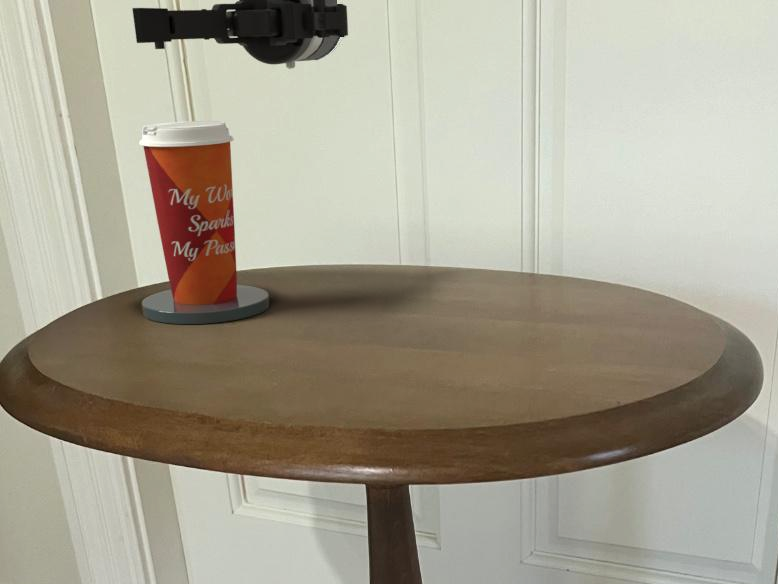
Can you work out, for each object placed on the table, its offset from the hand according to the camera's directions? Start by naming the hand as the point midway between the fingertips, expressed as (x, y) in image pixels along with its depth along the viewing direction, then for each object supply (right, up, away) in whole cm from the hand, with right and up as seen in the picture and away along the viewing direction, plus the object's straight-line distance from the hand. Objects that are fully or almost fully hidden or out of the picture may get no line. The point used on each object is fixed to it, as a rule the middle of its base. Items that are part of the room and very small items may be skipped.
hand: (212, 23), depth 94 cm
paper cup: (-1, -23, +2) cm, 23 cm away
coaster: (-1, -24, +2) cm, 24 cm away
